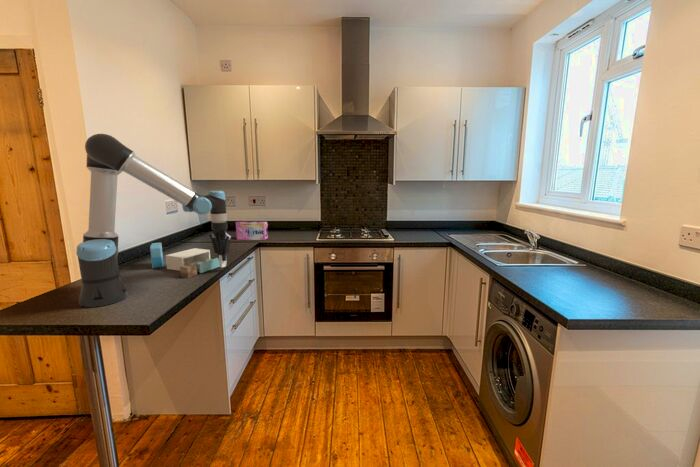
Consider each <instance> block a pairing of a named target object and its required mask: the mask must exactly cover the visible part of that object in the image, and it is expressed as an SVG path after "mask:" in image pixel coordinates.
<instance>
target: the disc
mask: <svg viewBox="0 0 700 467" xmlns="http://www.w3.org/2000/svg"><path fill="white" fill-rule="evenodd" d="M206 261H209V260H200V261H197V262H196V266H199V263H202V262H206Z"/></svg>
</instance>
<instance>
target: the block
mask: <svg viewBox="0 0 700 467" xmlns="http://www.w3.org/2000/svg"><path fill="white" fill-rule="evenodd" d="M179 272H180V277H182V278H188V279H189V278H192V277H194V276H197V275H198V271H197V268H196V265H192V264H187V265H184V266H181V267H180V271H179Z"/></svg>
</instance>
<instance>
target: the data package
mask: <svg viewBox="0 0 700 467" xmlns="http://www.w3.org/2000/svg"><path fill="white" fill-rule="evenodd" d="M149 251H150V259H151V260H150V261H151V268H152V269H160V268H163V267H164V253H163V246H162V242H154V243H153V242H152V243H151V244H150V246H149Z"/></svg>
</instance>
